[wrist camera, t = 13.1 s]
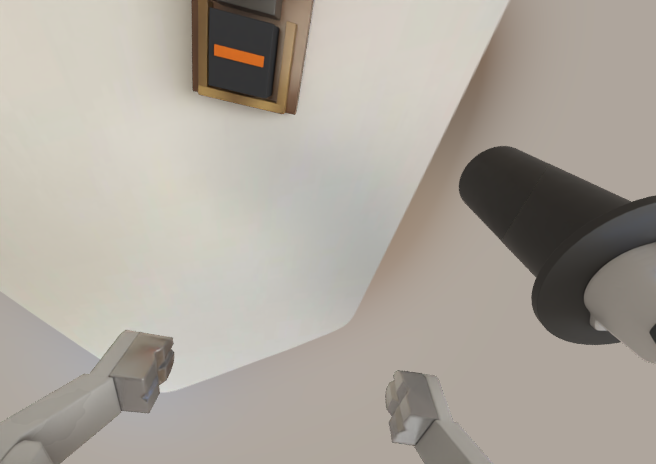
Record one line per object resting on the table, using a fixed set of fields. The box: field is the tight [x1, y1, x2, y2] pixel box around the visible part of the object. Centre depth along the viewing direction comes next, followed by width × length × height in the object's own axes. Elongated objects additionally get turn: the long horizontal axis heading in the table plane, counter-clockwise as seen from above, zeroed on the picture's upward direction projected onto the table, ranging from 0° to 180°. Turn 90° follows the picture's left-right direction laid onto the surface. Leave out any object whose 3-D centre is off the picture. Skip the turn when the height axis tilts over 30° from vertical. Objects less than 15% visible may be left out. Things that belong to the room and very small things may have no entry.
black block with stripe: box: [208, 7, 279, 99], centre depth 25 cm, size 5×6×3 cm
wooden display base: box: [192, 0, 314, 115], centre depth 24 cm, size 10×13×4 cm
